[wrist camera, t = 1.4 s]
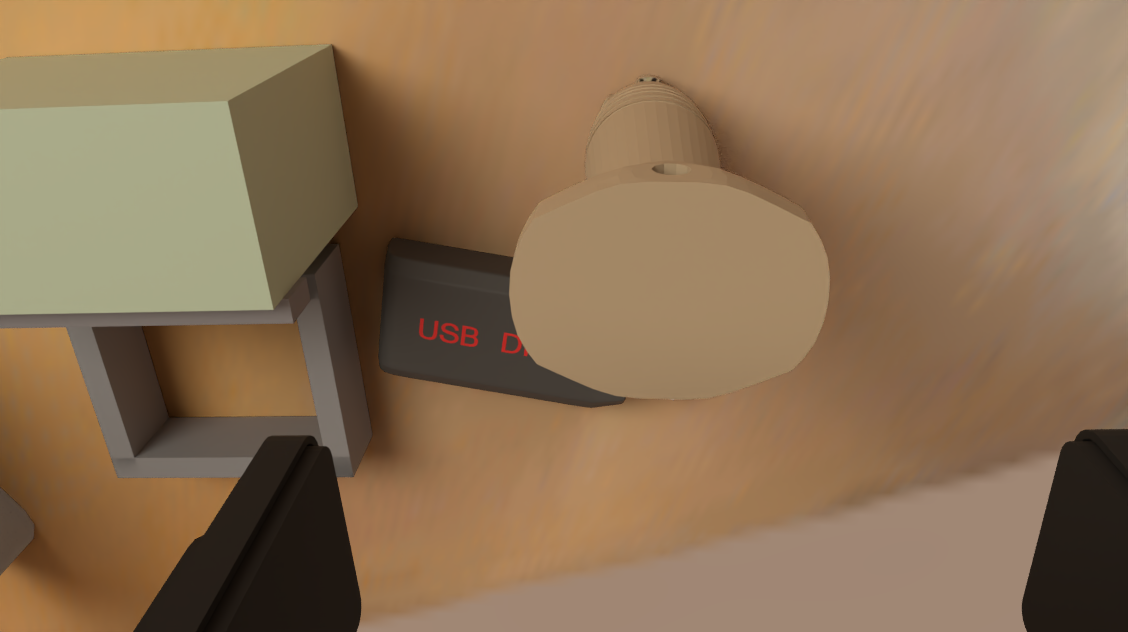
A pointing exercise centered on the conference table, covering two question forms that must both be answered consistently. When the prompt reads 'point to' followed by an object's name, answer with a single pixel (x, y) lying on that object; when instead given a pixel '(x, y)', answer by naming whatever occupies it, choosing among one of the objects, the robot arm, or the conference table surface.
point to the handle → (666, 263)
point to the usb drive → (462, 326)
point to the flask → (13, 530)
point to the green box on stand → (182, 233)
